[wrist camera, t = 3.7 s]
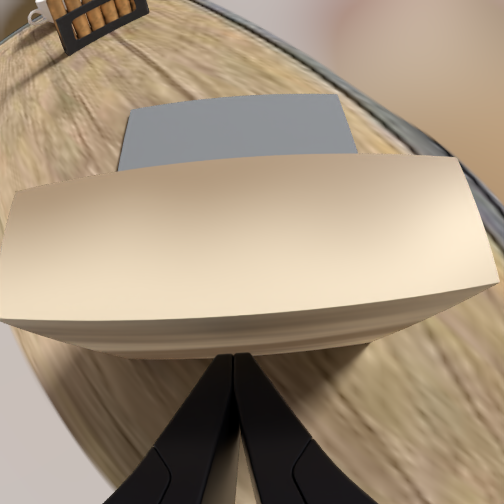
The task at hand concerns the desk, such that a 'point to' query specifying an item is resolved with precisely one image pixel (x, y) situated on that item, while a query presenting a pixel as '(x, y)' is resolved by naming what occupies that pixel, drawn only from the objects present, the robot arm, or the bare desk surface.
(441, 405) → the desk surface
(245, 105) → the mat
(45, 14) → the teacup
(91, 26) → the ammunition clip
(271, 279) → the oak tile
